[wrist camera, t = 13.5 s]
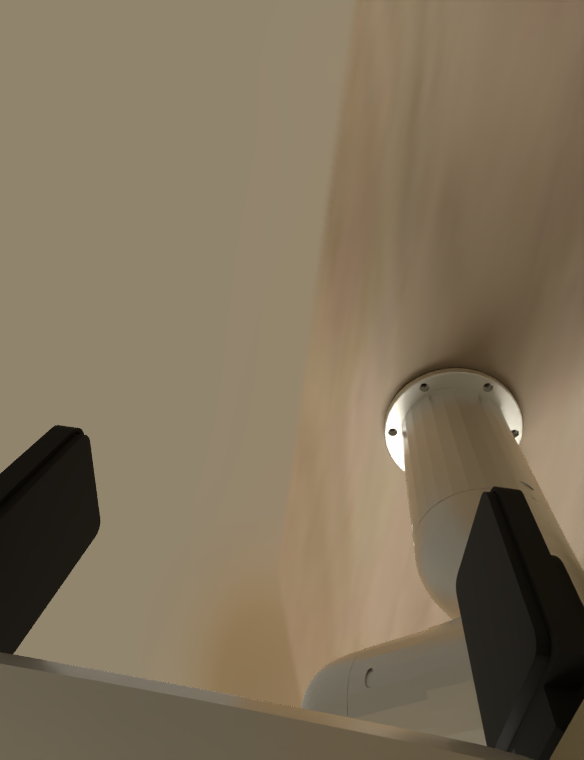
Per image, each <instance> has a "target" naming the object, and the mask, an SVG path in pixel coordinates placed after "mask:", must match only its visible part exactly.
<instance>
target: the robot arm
mask: <svg viewBox="0 0 584 760" xmlns="http://www.w3.org/2000/svg"><path fill="white" fill-rule="evenodd" d="M423 383H426V385H421V384H423ZM486 383H488V385H485V384H486ZM391 428H394V429H391ZM511 430H512V431H511ZM522 434H523V419H522V413H521V411H520V408H519V406H518V403H517V402H516V400H515V398H514V397H513V395H512V394H511V392H510V391H509V390H508V389H507V388H506V387H505V386H504V385H503V384H502V383H500V382H499V381H498V380H496V379H495V378H493V377H491V376H489V375H487V374H485V373H483V372H479V371H475V370H471V369H463V368H449V369H441V370H437V371H433V372H429V373H427V374H424V375H422V376H420V377H418V378H416V379H414V380H413V381H411V382H410V383H408V384H407V385H406V386H405V387H404V388H403V389H402V390H401V391H399V392H398V393H397V395H396V396H395V398H394V399H393V401H392V402H391V403H390V406H389V408H388V410H387V413H386V417H385V422H384V436H385V442H386V446H387V449H388V451H389V454H390V456H391V457H392V458H393V460H394V461H395V463H396V464H397V465H398V466H399V467H400V468H401V469H402V470H403V471H404V472H405V476H406V485H407V494H408V502H409V511H410V519H411V528H412V537H413V545H414V552H415V560H416V565H417V569H418V573H419V576H420V578H421V581H422V583H423V585H424V587H425V589H426V590H427V592H428V593H429V595H430V596H431V598H432V599H433V600H434V602H435V603H436V604H437V605H438V606H439V607H440V608H441V609H442V610H443V611H444V612H445V613H446V614H447V615H448V616H449V617H450V618H451V619H452V620H451V621H449V622H446V623H443V624H440V625H437V626H434V627H431V628H429V629H428V630H425V631H422V632H418V633H415V634H412V635H408V636H405V637H402V638H399V639H395V640H392V641H389V642H385V643H382V644H379V645H376V646H372V647H369V648H366V649H364V650H361V651H358V652H355V653H351V654H349V655H346V656H344V657H341V658H338V659H336V660H334V661H333V662H331V663H329V664H327V665H326V666H325V667H323V668H322V669H321V670H320V671H319V672H318V673H317V674H316V675H315V676H314V677H313V679H312V680H311V682H310V684H309V685H308V687H307V690H306V692H305V695H304V699H303V702H302V706H301V708H297V707H293V706H287V705H282V704H277V703H272V702H266V701H261V700H255V699H251V698H246V697H240V696H235V695H230V694H224V693H219V692H214V691H208V690H203V689H198V688H193V687H187V686H182V685H176V684H171V683H166V682H160V681H155V680H150V679H145V678H139V677H133V676H128V675H123V674H117V673H112V672H107V671H101V670H95V669H90V668H85V667H79V666H74V665H68V664H63V663H57V662H51V661H46V660H41V659H35V658H30V657H24V656H19V655H13V653H14V652H15V651H16V649H17V648H18V646H19V645H20V644H21V642H22V641H23V639H24V638H25V636H26V635H27V634H28V632H29V631H30V629H31V628H32V626H33V625H34V624H35V622H36V621H37V619H38V618H39V616H40V615H41V613H42V612H43V611H44V609H45V608H46V606H47V605H48V603H49V602H50V601H51V599H52V598H53V596H54V595H55V594H56V592H57V591H58V589H59V588H60V586H61V585H62V584H63V582H64V581H65V579H66V578H67V576H68V575H69V574H70V572H71V571H72V569H73V568H74V566H75V565H76V564H77V562H78V561H79V559H80V558H81V556H82V555H83V554H84V552H85V551H86V549H87V548H88V546H89V545H90V544H91V542H92V540H93V539H94V538H95V536H96V535H97V533H98V530H99V527H100V514H99V507H98V499H97V491H96V484H95V477H94V468H93V461H92V453H91V446H90V440H89V437H88V436H87V435H84V433H83V431H82V429H80V428H74V427H66V426H60V425H57V426H54V427H53V428H51V429H50V430H49V431H48V432H47V433H46V434H45V435H43V436H42V437H41V438H40V439H39V440H38V441H37V442H35V443H34V444H33V445H32V446H31V447H30V448H29V449H28V450H26V451H25V452H24V453H23V454H22V455H21V456H20V457H19V458H17V459H16V460H15V461H14V462H13V463H12V464H11V465H10V466H8V467H7V468H6V469H5V470H4V471H3V472H2V473H1V474H0V760H584V570H583V568H582V566H581V565H580V563H579V561H578V559H577V558H576V556H575V554H574V552H573V551H572V549H571V547H570V545H569V543H568V541H567V540H566V538H565V536H564V534H563V532H562V530H561V528H560V526H559V524H558V522H557V520H556V518H555V516H554V514H553V512H552V510H551V508H550V506H549V504H548V502H547V500H546V499H545V497H544V495H543V493H542V491H541V489H540V487H539V485H538V483H537V481H536V479H535V477H534V475H533V473H532V471H531V469H530V467H529V465H528V463H527V461H526V459H525V457H524V455H523V453H522V451H521V449H520V447H519V445H520V442H521V439H522Z"/></svg>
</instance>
